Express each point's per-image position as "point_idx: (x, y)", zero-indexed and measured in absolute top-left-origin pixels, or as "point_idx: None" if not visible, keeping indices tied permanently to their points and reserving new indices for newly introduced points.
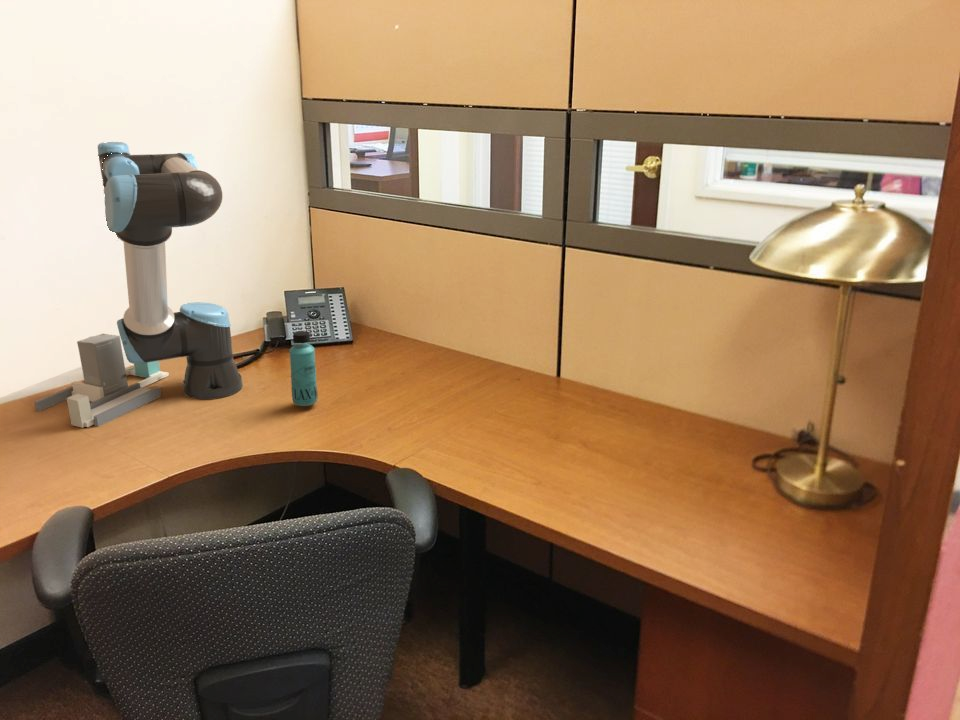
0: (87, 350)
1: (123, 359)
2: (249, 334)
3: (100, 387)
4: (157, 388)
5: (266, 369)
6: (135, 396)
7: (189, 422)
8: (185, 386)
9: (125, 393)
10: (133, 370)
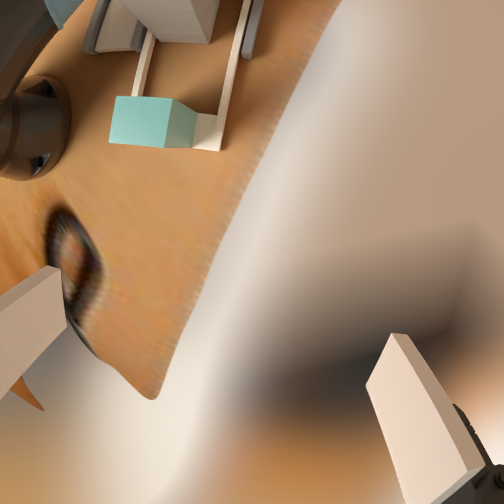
0: None
1: (135, 16)
2: (145, 388)
3: None
4: (83, 45)
5: (15, 239)
6: (116, 14)
7: None
8: (44, 77)
9: None
10: (212, 124)
